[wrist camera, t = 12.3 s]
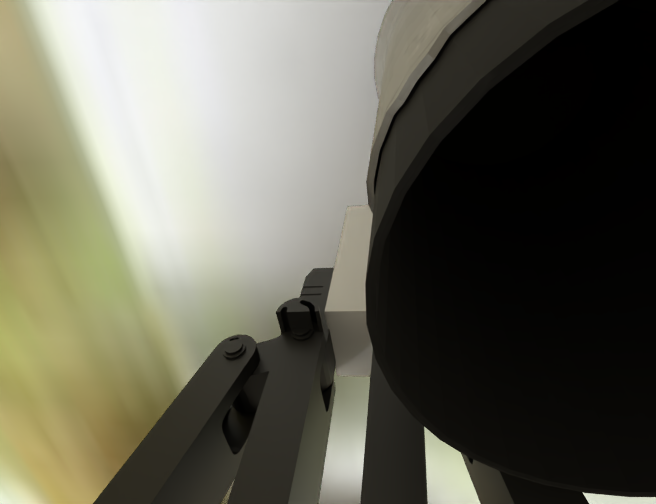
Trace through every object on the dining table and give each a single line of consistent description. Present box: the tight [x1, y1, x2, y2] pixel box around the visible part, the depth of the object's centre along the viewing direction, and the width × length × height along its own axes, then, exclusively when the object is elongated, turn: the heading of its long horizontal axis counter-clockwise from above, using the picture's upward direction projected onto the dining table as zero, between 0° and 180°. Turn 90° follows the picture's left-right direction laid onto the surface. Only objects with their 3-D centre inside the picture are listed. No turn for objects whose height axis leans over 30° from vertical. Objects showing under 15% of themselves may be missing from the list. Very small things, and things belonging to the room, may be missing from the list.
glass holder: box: [365, 0, 656, 497], centre depth 12 cm, size 9×14×15 cm, turn 59°
